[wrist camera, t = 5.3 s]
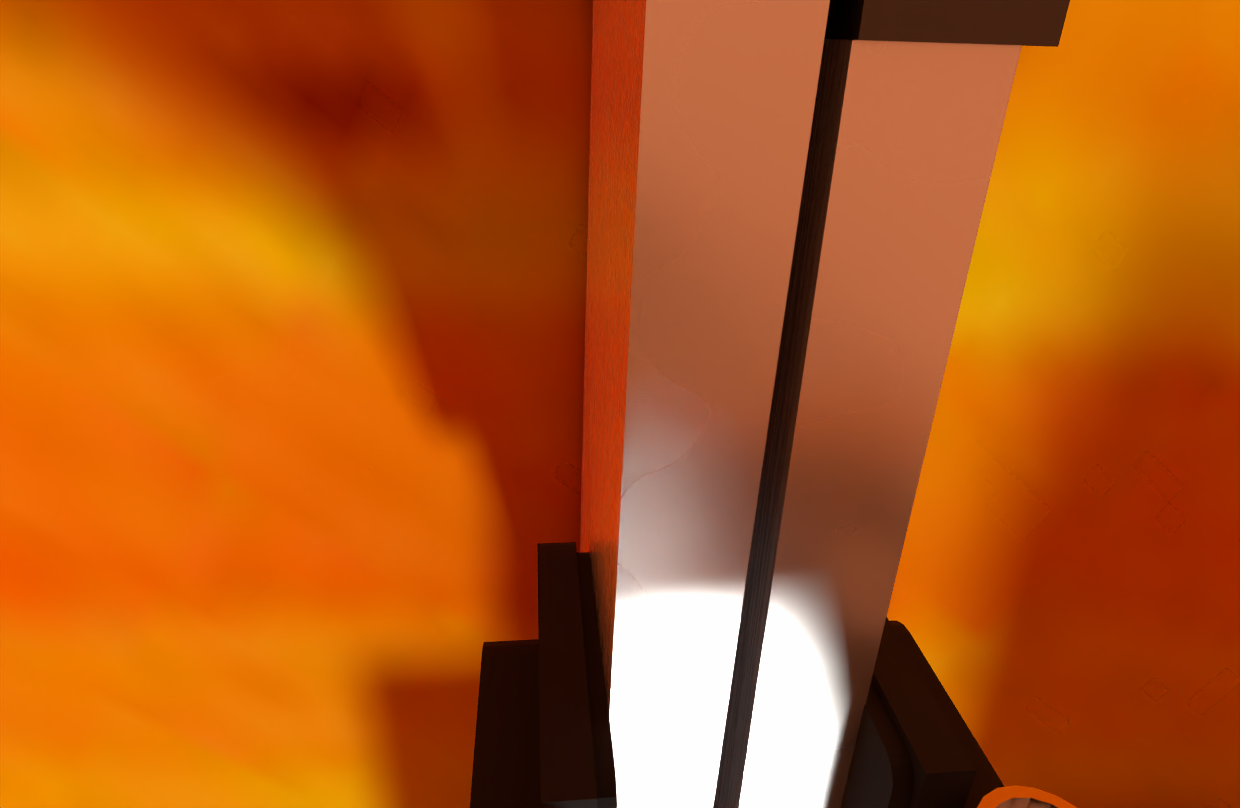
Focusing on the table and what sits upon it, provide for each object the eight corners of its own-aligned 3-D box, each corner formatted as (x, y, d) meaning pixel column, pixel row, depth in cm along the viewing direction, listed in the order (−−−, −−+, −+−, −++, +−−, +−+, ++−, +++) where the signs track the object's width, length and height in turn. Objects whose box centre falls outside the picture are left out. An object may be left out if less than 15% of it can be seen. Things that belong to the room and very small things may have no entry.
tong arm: (632, 826, 15) (669, 1114, 11) (562, 831, 15) (575, 1125, 11) (733, -503, 7) (1010, -1216, 3) (582, -522, 7) (662, -1304, 3)
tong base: (771, 964, 19) (856, 1296, 14) (482, 994, 18) (465, 1356, 13) (1045, -385, 8) (1880, -1045, 3) (351, -452, 7) (-30, -1478, 2)
